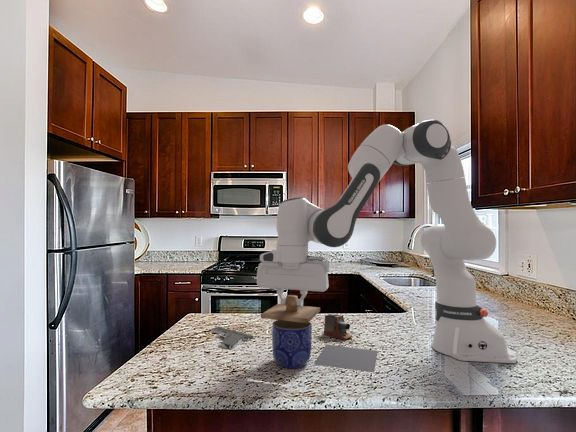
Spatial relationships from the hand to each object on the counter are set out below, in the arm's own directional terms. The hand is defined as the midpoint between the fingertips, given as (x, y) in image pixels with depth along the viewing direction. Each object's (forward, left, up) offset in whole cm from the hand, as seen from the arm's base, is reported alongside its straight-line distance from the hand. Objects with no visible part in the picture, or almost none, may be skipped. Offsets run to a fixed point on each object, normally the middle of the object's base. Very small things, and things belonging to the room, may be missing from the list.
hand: (291, 305), depth 93 cm
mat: (-14, -9, -16) cm, 23 cm away
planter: (0, 0, -16) cm, 16 cm away
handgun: (+28, -13, -17) cm, 35 cm away
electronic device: (-8, -27, -16) cm, 32 cm away
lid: (0, 0, -2) cm, 2 cm away
